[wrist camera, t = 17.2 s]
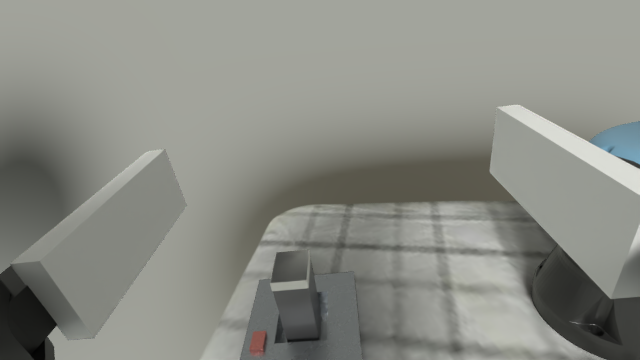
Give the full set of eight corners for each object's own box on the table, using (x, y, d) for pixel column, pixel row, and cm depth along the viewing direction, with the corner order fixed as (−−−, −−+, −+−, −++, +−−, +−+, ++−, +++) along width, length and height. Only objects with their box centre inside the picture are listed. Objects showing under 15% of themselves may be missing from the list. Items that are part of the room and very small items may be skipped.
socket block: (355, 286, 49) (353, 268, 47) (364, 381, 37) (361, 361, 35) (264, 294, 50) (258, 276, 49) (243, 388, 38) (235, 369, 36)
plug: (321, 311, 45) (309, 249, 40) (320, 345, 41) (306, 280, 36) (292, 313, 46) (276, 252, 40) (288, 347, 41) (269, 283, 36)
